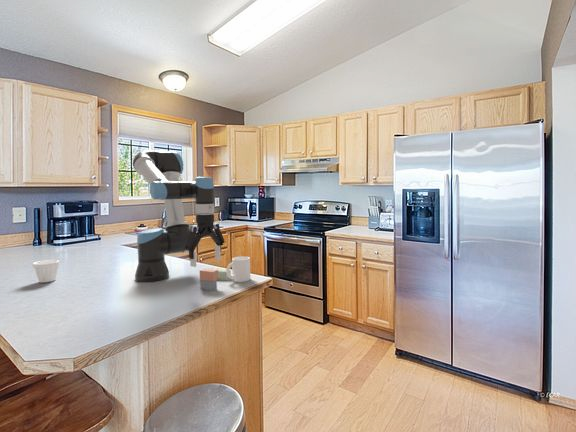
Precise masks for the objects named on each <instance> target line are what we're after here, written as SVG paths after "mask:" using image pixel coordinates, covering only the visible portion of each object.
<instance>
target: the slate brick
mask: <svg viewBox="0 0 576 432" xmlns="http://www.w3.org/2000/svg"><path fill="white" fill-rule="evenodd" d="M217 281H218V280H216V281H206V280H200V279H199V287H200V289H202V290H206V291H208V292H212V291H216V290H218V286H217V285H218V284H217V283H218V282H217Z"/></svg>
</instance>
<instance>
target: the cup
mask: <svg viewBox="0 0 576 432" xmlns="http://www.w3.org/2000/svg"><path fill="white" fill-rule="evenodd" d="M59 264H60V260H58V259H44V260H39V261H34V262H33V263H32V268H33V269H34V271H35V274H36V277H37V280H38V284H39V283H40V284H47V283H53V282H54V281H56V279H57V274H58V268H59Z"/></svg>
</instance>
